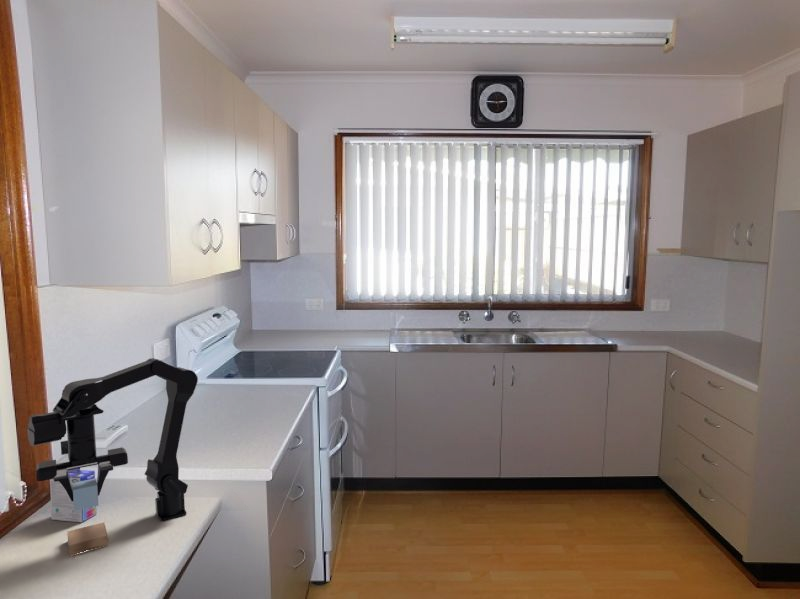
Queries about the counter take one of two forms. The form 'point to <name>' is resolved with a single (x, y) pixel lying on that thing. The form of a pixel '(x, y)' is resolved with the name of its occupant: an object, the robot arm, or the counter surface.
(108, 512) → the counter surface
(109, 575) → the counter surface
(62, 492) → the ink cartridge box
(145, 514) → the counter surface
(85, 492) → the slate cube
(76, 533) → the walnut block
